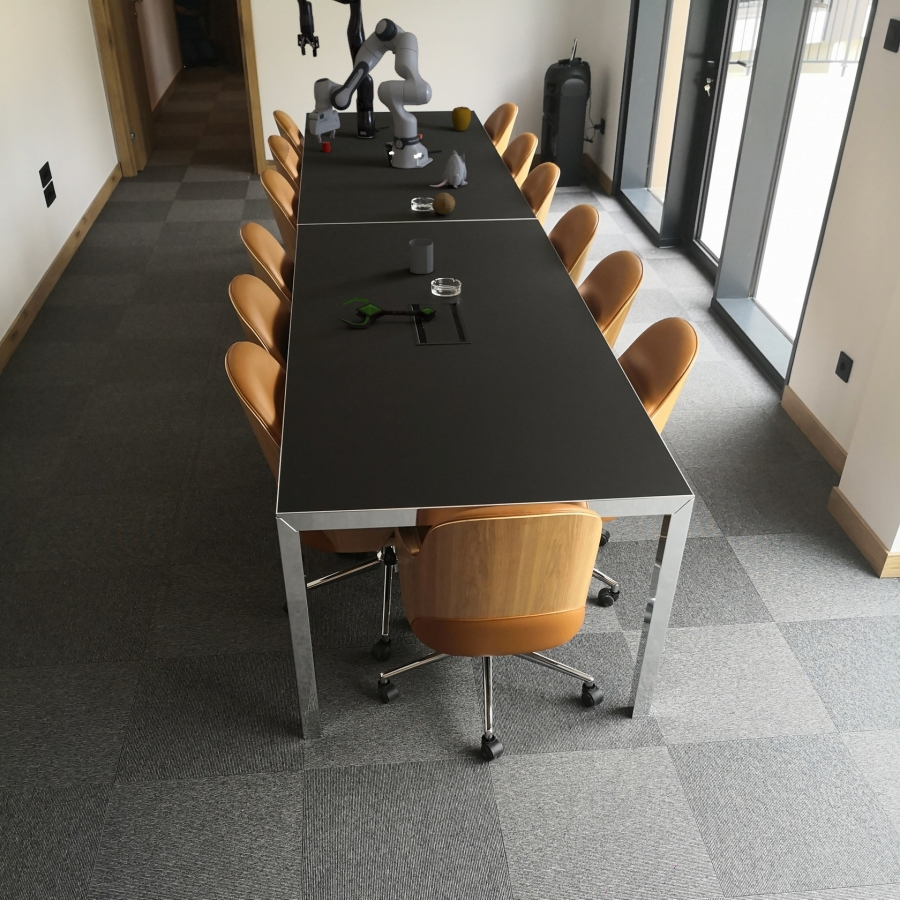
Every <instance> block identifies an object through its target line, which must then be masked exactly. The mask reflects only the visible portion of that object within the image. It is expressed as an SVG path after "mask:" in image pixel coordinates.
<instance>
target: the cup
mask: <svg viewBox="0 0 900 900" xmlns="http://www.w3.org/2000/svg"><path fill="white" fill-rule="evenodd" d="M408 253H409V272H411V273H412V274H416V275H426V274H430V273H432V272H434V241H433V240H431V239H428V238H422V237H421V238H420V237H419V238H414V239H411V240H410V241H409V242H408Z"/></svg>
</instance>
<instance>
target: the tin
mask: <svg viewBox="0 0 900 900" xmlns="http://www.w3.org/2000/svg"><path fill="white" fill-rule="evenodd" d="M321 148H322V149H321V151H322V152H323V153H331V150H332V149H331V141H322V143H321Z"/></svg>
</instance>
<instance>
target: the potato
mask: <svg viewBox="0 0 900 900" xmlns="http://www.w3.org/2000/svg"><path fill="white" fill-rule="evenodd" d="M455 206H456V200H455V198H454V196H452V195H451V194H449V193H448V192H439V193H437V194H436V195H435V197H434V198H433V200H432V201H431V207H432V209H433V210H434V212H436V213H437V214H439V215H441V216H442V215H449V214H450V213H452V212H453V211H454V209H455Z"/></svg>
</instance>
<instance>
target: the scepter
mask: <svg viewBox="0 0 900 900" xmlns="http://www.w3.org/2000/svg"><path fill="white" fill-rule="evenodd" d="M352 302H363V303H365V304H364V305H362V306H359V307H357V308H355V311H357V313H355V316H357V317H359V318H360V319H363V320H364V322H363V323H353V322H351V321H349V320H347V319H343V318H339V320H340V321H341V322H342V323H344V324H346V325H347V326H349V327H351V328H357V329H365V328H366V329H367V328H368V327H369V326H370V325H371V323H372V322H374V321H376V320H378V319H381V318H384V317H385V316H394V317H395V316H398V317H400V316H405V317H410V316H411V317H419V318H420V319H423V320H426V321H429V320H432V319H434V318H437V315H436V313H437V312H438V311H437V310H436V309H433V308H431V307H428V306H427V307H424V308H421V309H419V310H401V309H400V310H394V309H390V310H388V309H387V310H386V309H384V308H382V307H381V306H379V305H377V304H374V303H372V302H371V300H370V299H369V298H368V297H366V296H360V297H359V296H357V297H350V298H349V299H347V300H345V301H343V302H342V303H340V305H341V306H343V305H347V304H349V303H352Z"/></svg>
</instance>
